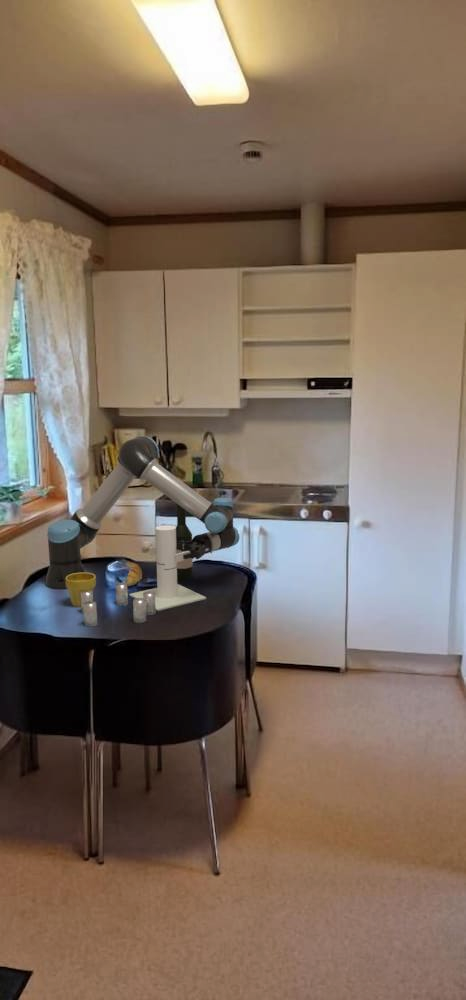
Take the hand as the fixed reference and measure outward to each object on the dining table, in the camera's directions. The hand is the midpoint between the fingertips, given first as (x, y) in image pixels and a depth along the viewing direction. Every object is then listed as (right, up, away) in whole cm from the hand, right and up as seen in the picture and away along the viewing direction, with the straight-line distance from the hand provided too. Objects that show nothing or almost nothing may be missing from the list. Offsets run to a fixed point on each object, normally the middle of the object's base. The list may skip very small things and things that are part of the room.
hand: (162, 554), depth 237 cm
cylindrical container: (+1, -15, +5) cm, 16 cm away
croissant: (-16, -12, +25) cm, 32 cm away
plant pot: (-28, -17, -1) cm, 33 cm away
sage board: (+1, -16, +5) cm, 16 cm away
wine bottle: (+5, -11, +29) cm, 32 cm away
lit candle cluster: (-14, -19, -13) cm, 27 cm away
